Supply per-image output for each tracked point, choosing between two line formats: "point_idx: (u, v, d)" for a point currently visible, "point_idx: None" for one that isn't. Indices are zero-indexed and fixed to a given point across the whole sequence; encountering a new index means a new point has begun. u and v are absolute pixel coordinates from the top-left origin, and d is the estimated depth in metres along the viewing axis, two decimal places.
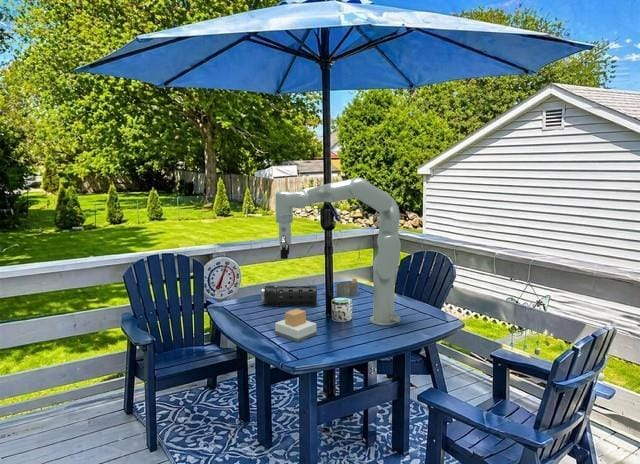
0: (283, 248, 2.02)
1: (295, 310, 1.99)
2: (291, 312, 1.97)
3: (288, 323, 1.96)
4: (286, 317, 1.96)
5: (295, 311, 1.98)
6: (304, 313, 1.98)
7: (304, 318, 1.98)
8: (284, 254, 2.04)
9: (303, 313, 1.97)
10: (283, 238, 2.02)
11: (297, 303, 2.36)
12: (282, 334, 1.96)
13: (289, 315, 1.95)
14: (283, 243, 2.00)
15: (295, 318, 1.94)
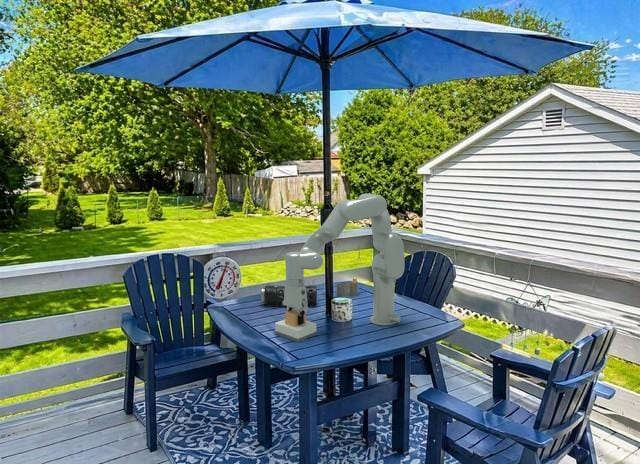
0: (303, 313, 1.94)
1: (295, 310, 1.99)
2: (291, 312, 1.97)
3: (288, 323, 1.96)
4: (286, 317, 1.96)
5: (295, 311, 1.98)
6: None
7: (304, 318, 1.98)
8: (302, 319, 1.95)
9: None
10: (305, 304, 1.93)
11: None
12: (282, 334, 1.96)
13: (289, 315, 1.95)
14: (307, 310, 1.92)
15: (295, 318, 1.94)
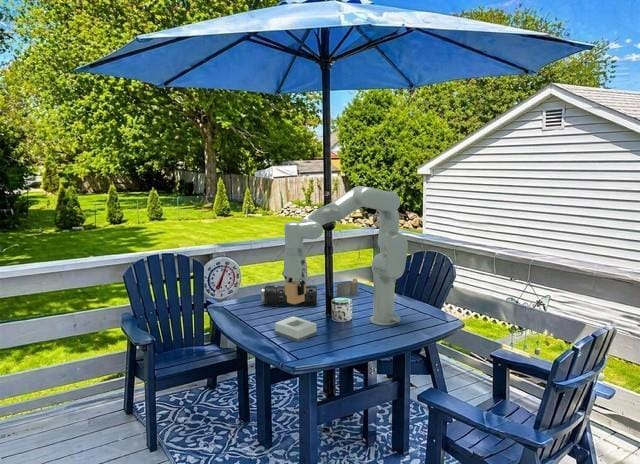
0: (303, 283, 1.92)
1: (295, 281, 1.97)
2: (291, 283, 1.95)
3: (288, 294, 1.94)
4: (286, 288, 1.94)
5: (295, 282, 1.96)
6: None
7: (304, 289, 1.96)
8: (302, 290, 1.93)
9: None
10: (305, 274, 1.90)
11: (297, 303, 2.36)
12: (282, 334, 1.96)
13: (289, 285, 1.93)
14: (307, 280, 1.90)
15: (295, 288, 1.92)
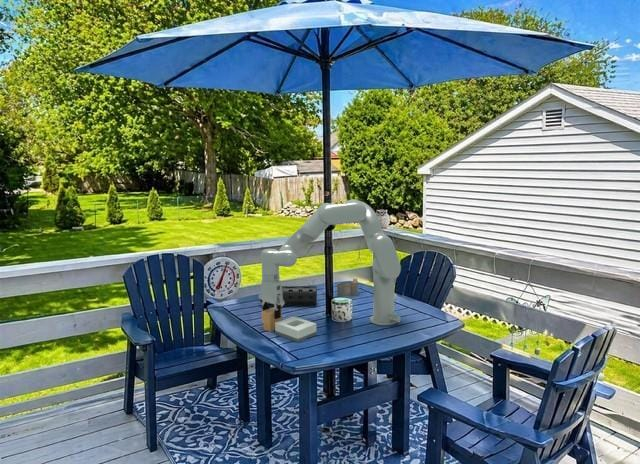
0: (280, 308, 2.00)
1: (271, 309, 2.07)
2: (267, 311, 2.04)
3: (264, 321, 2.03)
4: (262, 315, 2.04)
5: (271, 310, 2.05)
6: None
7: None
8: (279, 313, 2.02)
9: None
10: (280, 298, 1.99)
11: (297, 303, 2.36)
12: (282, 334, 1.96)
13: (265, 313, 2.02)
14: (283, 304, 1.99)
15: (271, 316, 2.01)
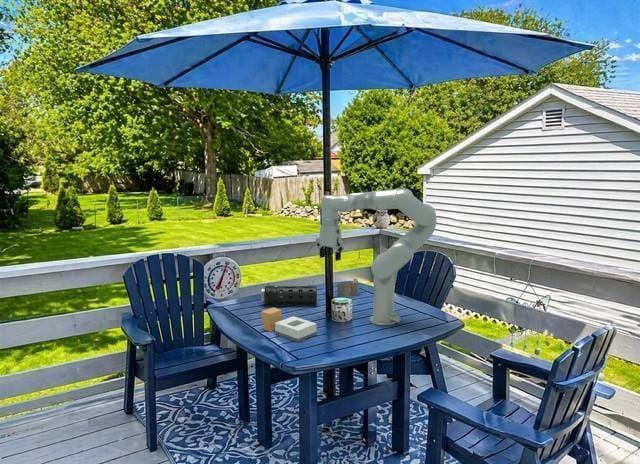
0: (341, 250, 2.10)
1: (271, 309, 2.07)
2: (267, 311, 2.04)
3: (264, 321, 2.03)
4: (262, 315, 2.04)
5: (271, 310, 2.05)
6: (280, 312, 2.05)
7: (280, 317, 2.05)
8: (339, 255, 2.11)
9: (279, 311, 2.04)
10: (340, 240, 2.09)
11: (297, 303, 2.36)
12: (282, 334, 1.96)
13: (265, 313, 2.02)
14: (344, 245, 2.08)
15: (271, 316, 2.01)
